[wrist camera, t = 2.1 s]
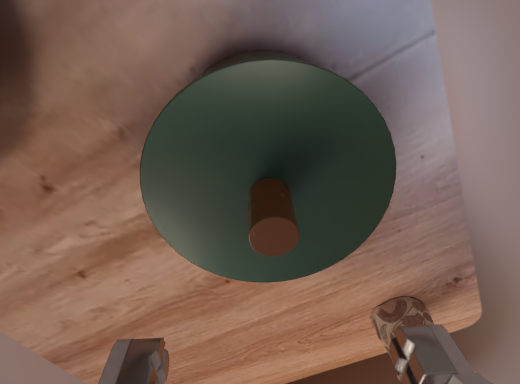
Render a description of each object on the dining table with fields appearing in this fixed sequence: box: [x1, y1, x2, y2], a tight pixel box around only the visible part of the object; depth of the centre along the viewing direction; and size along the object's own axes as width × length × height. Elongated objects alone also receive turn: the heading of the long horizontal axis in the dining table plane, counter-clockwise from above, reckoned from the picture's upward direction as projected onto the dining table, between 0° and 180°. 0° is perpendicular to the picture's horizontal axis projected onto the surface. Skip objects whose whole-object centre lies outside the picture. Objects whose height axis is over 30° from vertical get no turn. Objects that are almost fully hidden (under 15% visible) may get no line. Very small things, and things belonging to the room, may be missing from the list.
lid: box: [140, 57, 396, 282], centre depth 17 cm, size 16×16×5 cm
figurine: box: [370, 297, 434, 381], centre depth 34 cm, size 7×7×12 cm
